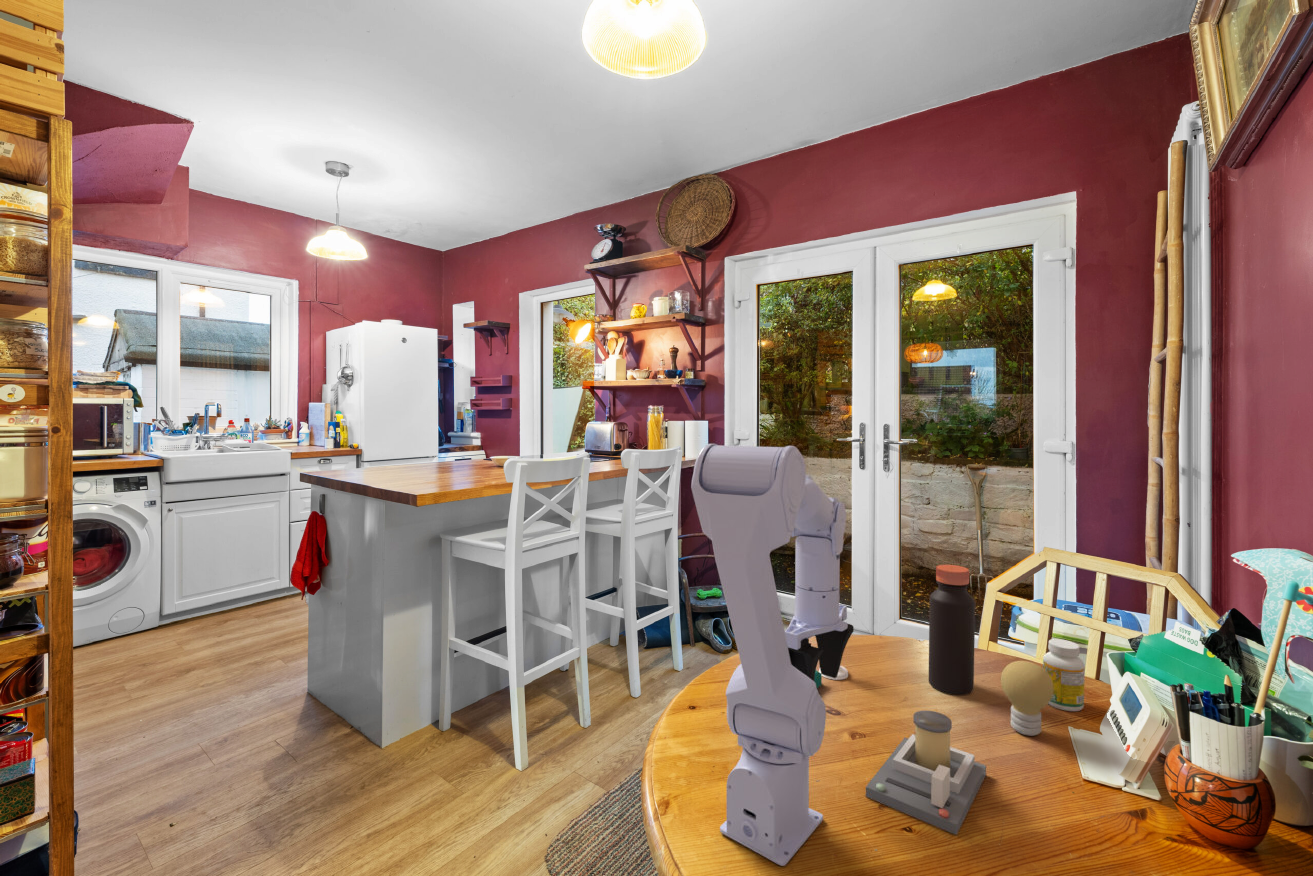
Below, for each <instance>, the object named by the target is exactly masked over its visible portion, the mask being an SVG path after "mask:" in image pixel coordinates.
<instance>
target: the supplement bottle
mask: <svg viewBox="0 0 1313 876" xmlns="http://www.w3.org/2000/svg"><path fill="white" fill-rule="evenodd" d="M1047 648H1048V652H1046V653H1045V654H1044V655H1043V657H1042V659H1043V660H1042V668H1043V669H1044V670H1045V671H1046V672H1047V673H1048V674H1049V676H1050V678H1051V680H1052V683H1053V695H1052V698H1051V700H1050V701H1049V703H1048V704H1047V705H1049V706H1051V707H1053V708H1055V709H1059V710H1062V711H1066V712H1067V711H1068V712H1079V711H1081V710H1082V709H1084V706H1085V676H1086V675H1085V670H1086V669H1085V668H1086V667H1085V663H1084V661H1083V660H1082V659H1081V658H1080V653H1081V652H1080V645H1079V644H1077V643H1075V642H1074V641H1070V640H1067V639H1066V640H1065V639H1063V638H1062V639H1060V638H1051V639H1049V640H1048V646H1047Z"/></svg>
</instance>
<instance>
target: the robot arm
mask: <svg viewBox="0 0 1313 876" xmlns="http://www.w3.org/2000/svg"><path fill="white" fill-rule="evenodd" d="M693 466H694V467H693V474H692V478H691V486H690V488H691V492H692V497H693V501H694V503H695V507H696V508H695V509H696V511H697V516H698V519H699V523H700V526H701V530H702V531H701V532H702V533H703V534H704V535H705V536H706V537H707V538H708V539H709V540H711V543H712V549H713V555H714V559H715V564H716V568H717V573H718V576H719V580H720V584H721V589H722V592H723V596H724V600H725V604H726V607H727V612H728V617H729V620H730V625H731V628H732V633H733V635H734V641H735V643H736V644H735V645H736V648H737V652H738V656H739V660H740V664H738V666H737V667H736V669H734V671H733V674H732V675H731V677H730V680H729V682H728V683H727V684H728V685H727V687H726V690H725V696H726V697H725V698H726V704H727V705H726V720H727V721H726V722H727V724H728V727H729V729H730V731H731V733H732V734H734V735H737V746H740V747H741V748H742V751H741V755H740V758H739V760H738V762H737V763H736V765H735V766H734V768H733V769H732V770H731V771H730V773H728V776H727V781H726V820H725V821H724V822H723V823H722V824H721V825H720V826H719V831H720V833H721V834H722V835H724V836H726V837H728V838H730V839H732V840H734V841H735V842H737V843H739V844H741V845H742V846H744V847H746V848H749V850H752V851H754V852H755V853H757V854H759V855H761V856H763V857H764V858H766V859H768V860H770V861H771V862H773V863H775V864H777V865H779V866H782V867H783V866H786V865H787V864H788V863H789V862H790V860H791V859H792V858H793V857H794V855H795V854H796V853H797V852H798V850H799V849H800V848H801V847H802V846H803V845H804V843H805V842H806V841H807V840H808V839H809V837H810V836H811V835H813V832H814V831H815V830H816V828H817V827H819V825H820V824H821V823H822V822H823V820H824V815H823V814H822V813H821V812H818V811H817V810H814V809H812V808H810V807H809V801H810V792H809V791H810V787H809V786H810V757H813V756H814V755H815V754H816V753H818V751H819V750H820V748H821V746H822V743H823V739H824V734H825V728H826V719H827V718H826V717H827V713H826V711H827V710H826V704H825V702H824V700H823V699H822V696H821V694H819V690H818V688H816V683H815V682H814V678H815V671H816V670H817V665H818V663H819V668H820V669H819V670H821V674H823V675H826V676H829V677H833V678H836V677H837V675H838V672H839V668H840V666H841V663H842V659H843V655H844V652H845V649H846V647H847V644H848V642H849V640H850V638H851V636H852V635H853V634H854V631H855V630H854V627H855V626H854V625H853V624H851V623H848V622H846V620H847V619H848V615H847V614H848V612H847V610H848V606H847V605H844V604H840V572H841V571H840V567H841V566H840V565H841V564H840V563H841V561H840V560H841V559H840V558H841V557H840V556H841V553H842V552H843V550H844V549H843V548H844V534H845V529H846V521H847V515H846V513H847V512H846V506H845V504H844V502H843V501H840V500H839V499H838V497H831V496H830V497H829V496H828V495H827V494H826V493H825V492H824V491H823V490H822V489H821V488H820V487H819V485H818V484H817V483H816V482H815V481H813V477H811V475H810V474H809V475H808V474H807V473H806V463H805V459H804V456H803V454H802V453H801V452H800V451H799V448H797V447H796V446H794V445H786V446H783V447H782V446H754V445H753V446H751V445H721V444H719V445H718V444H717V443H707V444H705V445H704V446H703V447H702V449H701V450H700V452H699V453H698V455H697V457H696V459H695V463H694V465H693ZM791 537H792V538H794V537H796V538H795V559H794V561H795V568H794V569H795V577H794V578H795V581H794V582H795V583H794V585H795V586H794V587H795V589H794V590H795V591H794V592H795V593H794V595H795V596H794V597H795V598H794V607H795V609H794V610H795V611H794V614H793V617H792V618H791V621H790V623H789V625H788V627H787V628H786V629H785V627H784V623H783V617H782V613H781V607H780V602H779V597H778V592H777V588H776V582H775V581H776V580H775V577H774V571H773V566H772V562H771V561H772V560H771V556H770V554H771V552H772V551H774V550H776V549H778V548H780V547H782V546H784V545H786V544H788V543H789V542H790V540H791ZM812 637H815V640H816V645H817V647H815V646H813V645H812V642H810V639H811V638H812Z"/></svg>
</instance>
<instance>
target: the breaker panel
mask: <svg viewBox="0 0 1313 876" xmlns="http://www.w3.org/2000/svg"><path fill="white" fill-rule="evenodd" d="M934 772H935V771H933V770H930V769H927V768H924V767H922V766H919V765H916V752H915V734H913V733H912V734H911V735H910V737H909V738H907V737H904V738H903V739H902V740H901V741H900V743H899V744H898V745H897V746H896V748H895V749H894V750H893V752H892V753H891V754H890V755H889V757H888V758H887V759H886V760H885V762H884V763H883V765H881V767H880V768H879V769H878V771H877V772H876V773H875V775H874V776H873V777H872V778H871V779H870V781H869V782H868V783H867V785H866V786H865V797H866V798H869V799H871V800H873V801H876V802H878V803H880V804H883V805H885V806H886V807H888V808H892V809H894V810H896V811H899V812H901V813H904V814H906V815H907V816H911V817H912V818H915V819H918V820H920V821H922V822H925V823H927V824H929V825H932V826H934V827H936V828H938V829H941V830H943V831H945V832H947V833H951V834H952V835H955V836H957V835H958V833H959V830H960V829H961V827H962V825H963V823H964V820H965V819H966V816H967V814H968V812H969V811H970V809H971V806H972V805H973V802H974V800H975V798H976V796H977V794H978V792H979V790H980V788H981V786H982V784H983V782H984V780H985V778H986V776H987V765H986V764H983V763H980V762H977V761H975V754H972V753H971V752H966V751H963V750H960V749H958V748H955V747H952V746H950V796H949V797H948V799H947V801H946V803H945V805H944V806H943V808H940V807H938V806H935V805H933V804H931V783H932V775H933V774H934Z"/></svg>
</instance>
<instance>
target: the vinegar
mask: <svg viewBox="0 0 1313 876" xmlns="http://www.w3.org/2000/svg"><path fill="white" fill-rule="evenodd" d="M935 567H936V569H935V570H936V571H935V572H936V574H935V580H936V584H937V585H938V587H937V588H936V589H935V590H933V592H931V593H930V595H929V614H928V615H929V619H928V621H929V623H928V624H929V625H928V626H929V627H928V636H929V637H928V684H929V685H930V686H931V687H932V688H934V689H935V690H937V691H940V692H941V693H945V694H948V695H953V696H954V695H957V696H963V695H964V696H965V695H969V694H970V693H972V692H973V691H974V686H975V683H974V682H975V680H974V679H975V639H976V637H975V636H976V635H975V631H976V627H975V626H976V601H975V598H974V597H973V596H972V595H971V594H970V593H969V592H968V590H967V589H968V587H969V585H970V569H969V568H967V567H964V566H961V565H956V564H939V565H937V566H935Z"/></svg>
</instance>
